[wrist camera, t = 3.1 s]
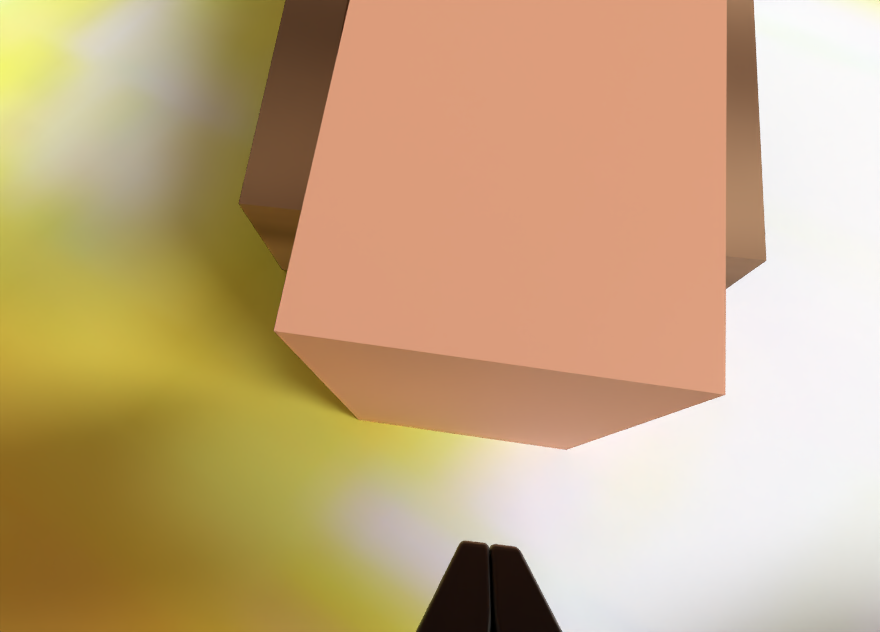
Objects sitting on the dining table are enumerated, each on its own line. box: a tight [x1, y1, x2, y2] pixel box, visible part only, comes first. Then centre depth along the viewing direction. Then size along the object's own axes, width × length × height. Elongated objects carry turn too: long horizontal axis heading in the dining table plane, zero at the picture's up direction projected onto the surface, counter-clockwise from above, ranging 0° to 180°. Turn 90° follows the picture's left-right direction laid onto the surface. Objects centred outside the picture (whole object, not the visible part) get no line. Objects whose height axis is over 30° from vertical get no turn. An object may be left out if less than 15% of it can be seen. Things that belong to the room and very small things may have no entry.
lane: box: [239, 0, 766, 289], centre depth 17 cm, size 14×12×4 cm
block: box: [274, 0, 727, 450], centre depth 14 cm, size 16×6×9 cm, turn 172°
